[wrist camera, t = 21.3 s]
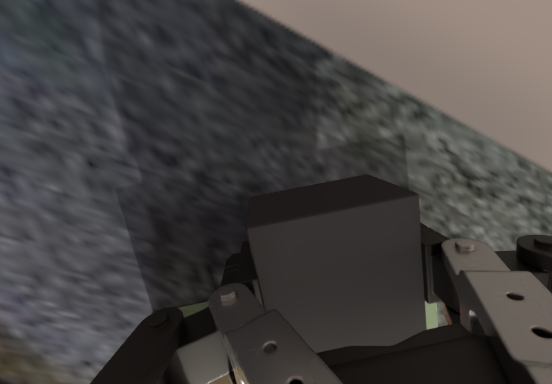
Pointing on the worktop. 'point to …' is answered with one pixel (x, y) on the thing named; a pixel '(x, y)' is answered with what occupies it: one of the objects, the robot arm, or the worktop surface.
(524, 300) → the robot arm
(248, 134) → the worktop surface
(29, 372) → the worktop surface
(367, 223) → the dark gray block
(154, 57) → the worktop surface
